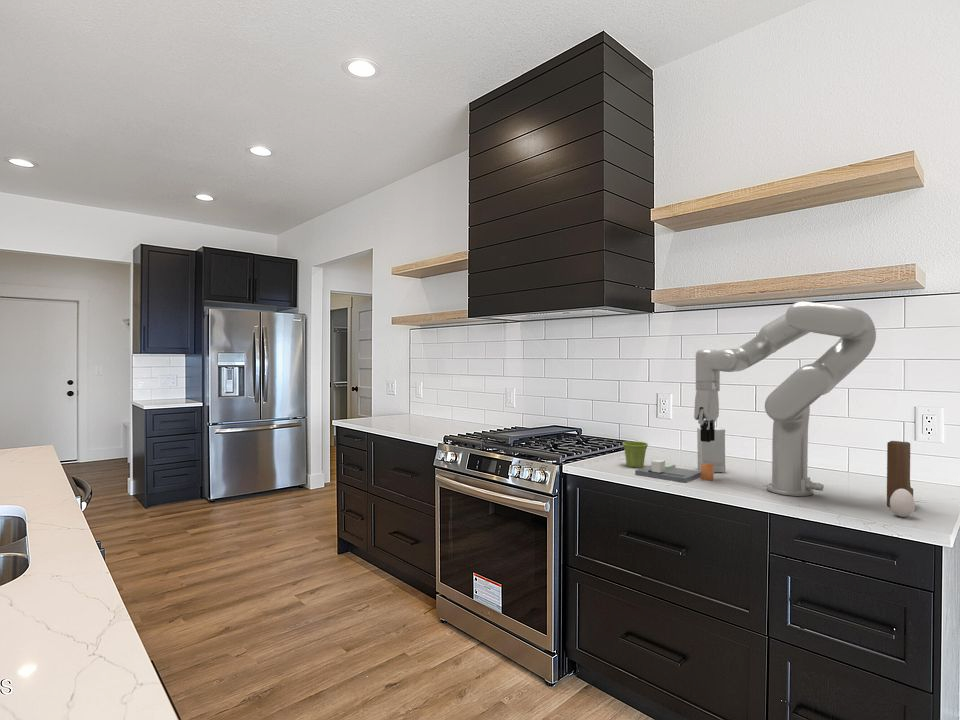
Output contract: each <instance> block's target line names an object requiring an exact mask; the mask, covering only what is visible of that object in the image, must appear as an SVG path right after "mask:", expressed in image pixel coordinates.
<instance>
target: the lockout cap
mask: <svg viewBox="0 0 960 720" xmlns="http://www.w3.org/2000/svg"><path fill="white" fill-rule="evenodd" d="M700 479H701V480H702V481H709V480H711V481H714V480H715V473H714V465H713V464H709V463H702V464H701V477H700Z"/></svg>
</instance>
